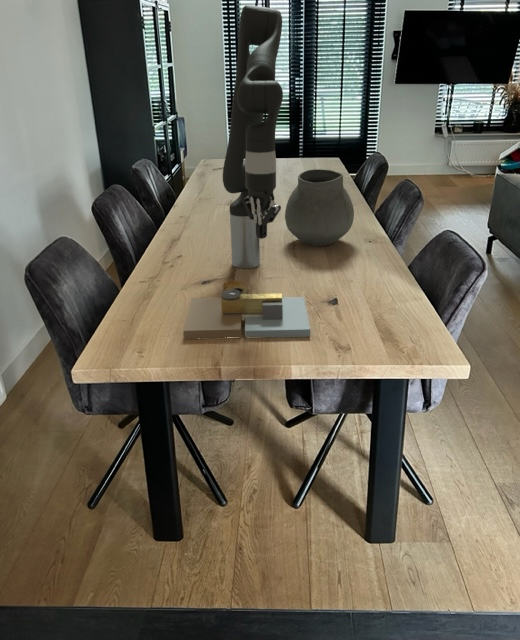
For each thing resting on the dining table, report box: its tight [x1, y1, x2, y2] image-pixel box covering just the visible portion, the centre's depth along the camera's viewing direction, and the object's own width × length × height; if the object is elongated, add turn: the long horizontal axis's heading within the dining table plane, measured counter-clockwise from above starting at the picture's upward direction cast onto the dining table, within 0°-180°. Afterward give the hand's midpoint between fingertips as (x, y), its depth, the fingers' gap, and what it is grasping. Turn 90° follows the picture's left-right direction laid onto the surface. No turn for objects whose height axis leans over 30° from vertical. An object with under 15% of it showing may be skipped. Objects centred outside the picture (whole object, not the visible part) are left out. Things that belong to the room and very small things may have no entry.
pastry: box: [222, 279, 248, 294], centre depth 166 cm, size 9×7×4 cm
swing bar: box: [220, 289, 283, 313], centre depth 147 cm, size 16×5×5 cm, turn 90°
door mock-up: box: [183, 296, 311, 340], centre depth 148 cm, size 20×31×6 cm, turn 91°
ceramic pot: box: [284, 168, 355, 247], centre depth 201 cm, size 24×24×25 cm
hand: (261, 237), depth 146 cm, fingers closed
